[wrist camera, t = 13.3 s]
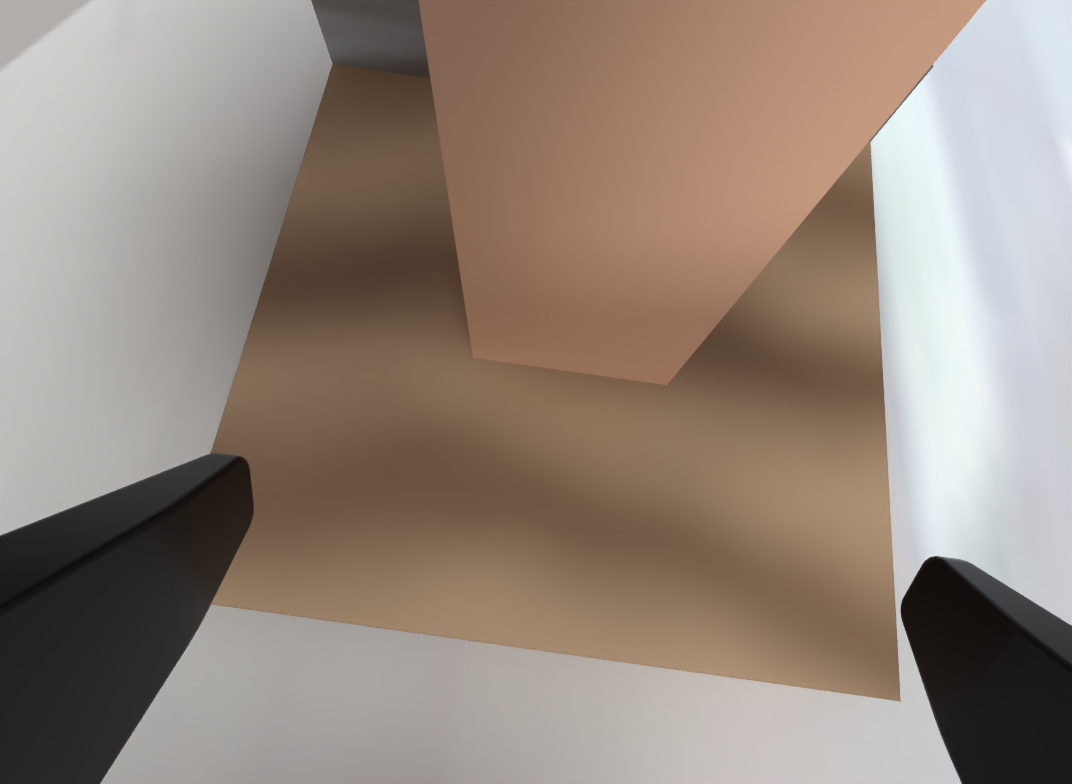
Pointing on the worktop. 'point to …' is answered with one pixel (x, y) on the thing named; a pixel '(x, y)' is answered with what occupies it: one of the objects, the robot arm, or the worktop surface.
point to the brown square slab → (554, 430)
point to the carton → (649, 156)
